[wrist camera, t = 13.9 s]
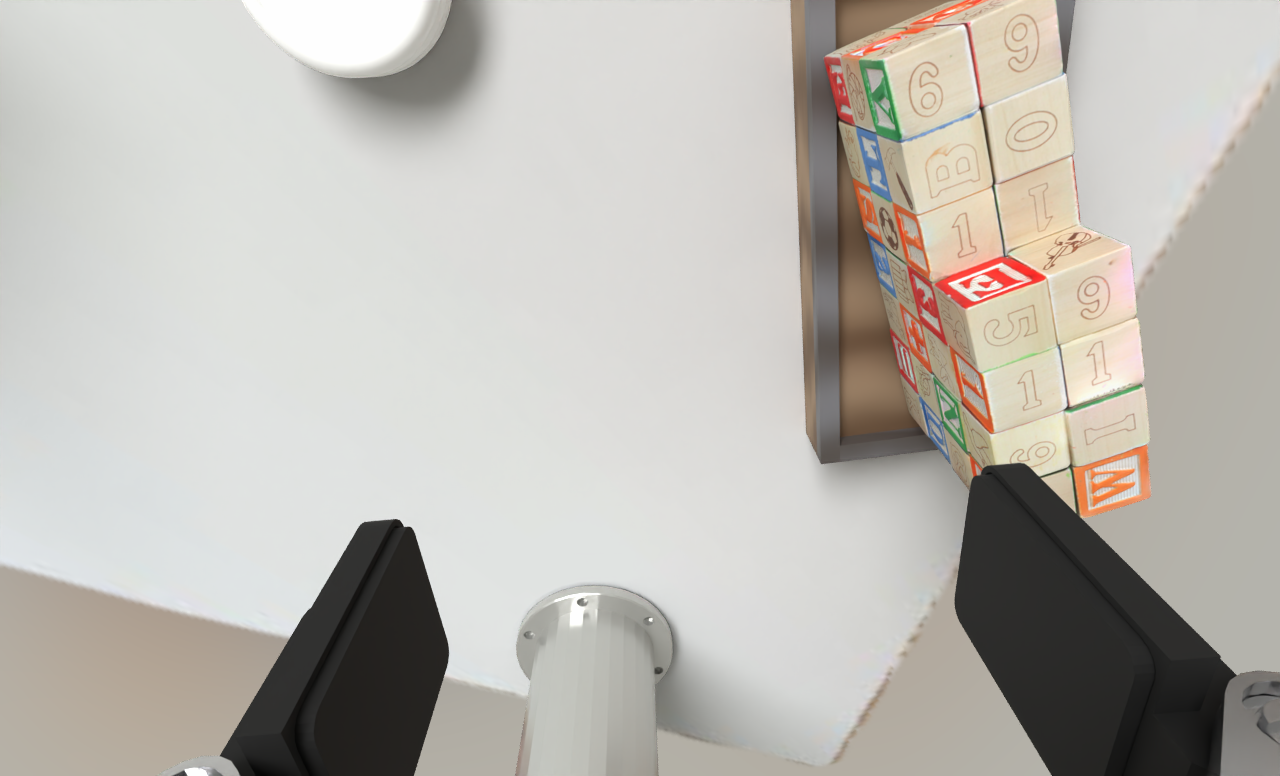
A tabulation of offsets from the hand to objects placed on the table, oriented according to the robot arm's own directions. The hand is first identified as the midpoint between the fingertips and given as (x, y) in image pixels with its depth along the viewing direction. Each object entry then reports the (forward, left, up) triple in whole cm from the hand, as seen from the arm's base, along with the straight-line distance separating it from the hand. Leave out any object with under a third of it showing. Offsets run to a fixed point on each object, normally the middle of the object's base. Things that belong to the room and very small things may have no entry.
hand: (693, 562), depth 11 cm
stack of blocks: (-3, -15, -27) cm, 31 cm away
